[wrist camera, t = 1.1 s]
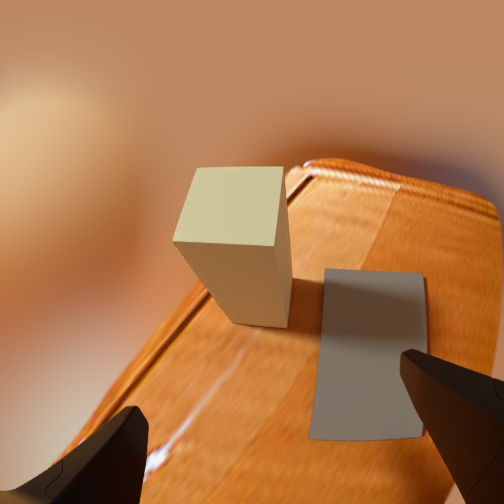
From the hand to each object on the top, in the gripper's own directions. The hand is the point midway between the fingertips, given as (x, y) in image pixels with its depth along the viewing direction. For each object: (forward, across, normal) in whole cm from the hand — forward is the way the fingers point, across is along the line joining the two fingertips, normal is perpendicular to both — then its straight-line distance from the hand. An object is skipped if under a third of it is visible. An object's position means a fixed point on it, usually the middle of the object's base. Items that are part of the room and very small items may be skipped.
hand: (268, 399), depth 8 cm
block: (+16, 0, +4) cm, 16 cm away
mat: (+11, -8, +8) cm, 16 cm away
